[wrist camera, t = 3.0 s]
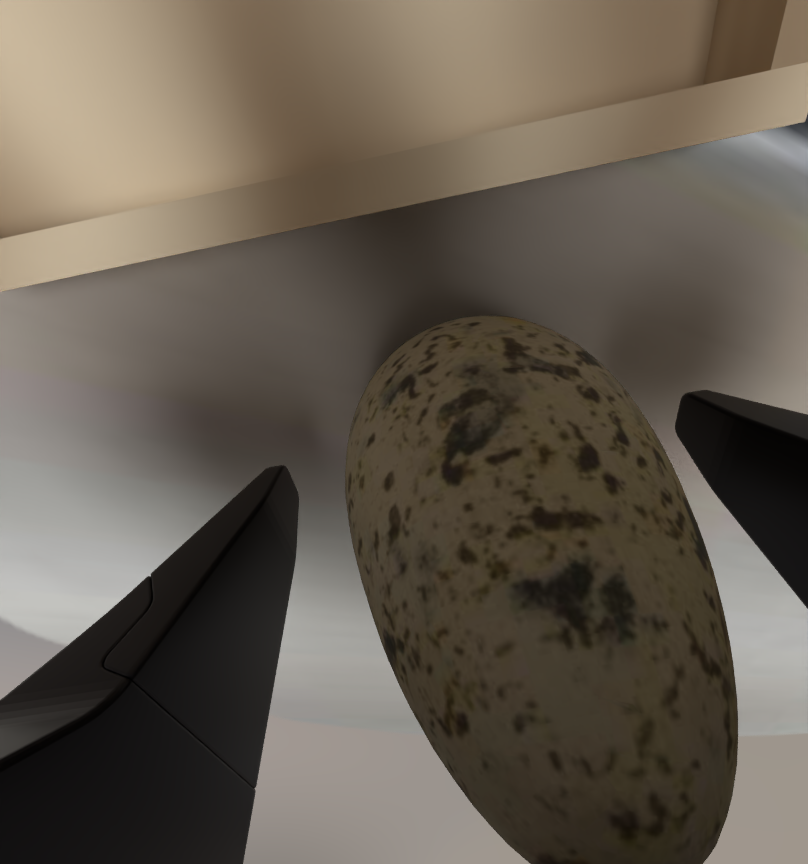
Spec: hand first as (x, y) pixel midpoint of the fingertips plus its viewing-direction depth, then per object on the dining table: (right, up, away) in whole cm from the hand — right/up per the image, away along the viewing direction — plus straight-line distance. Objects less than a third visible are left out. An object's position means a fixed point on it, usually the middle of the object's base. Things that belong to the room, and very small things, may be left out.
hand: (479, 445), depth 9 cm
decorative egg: (0, +2, +3) cm, 3 cm away
